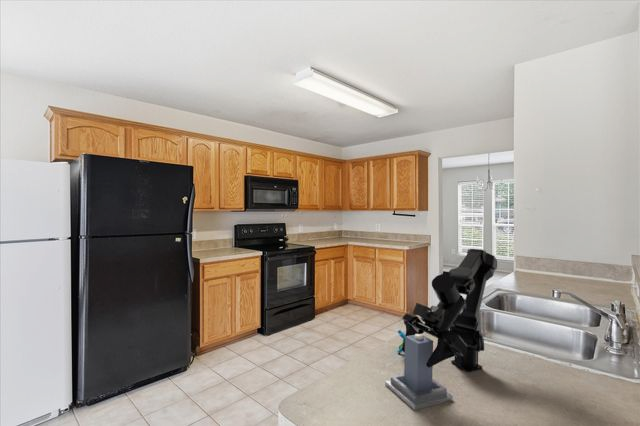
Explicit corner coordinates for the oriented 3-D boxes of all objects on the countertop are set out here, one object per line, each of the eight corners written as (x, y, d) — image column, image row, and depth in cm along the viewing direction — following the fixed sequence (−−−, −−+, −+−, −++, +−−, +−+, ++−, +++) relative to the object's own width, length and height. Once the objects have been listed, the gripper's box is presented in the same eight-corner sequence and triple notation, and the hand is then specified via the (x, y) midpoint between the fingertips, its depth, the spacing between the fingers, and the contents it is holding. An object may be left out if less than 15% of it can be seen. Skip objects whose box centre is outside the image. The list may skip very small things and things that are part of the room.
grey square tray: (420, 376, 91) (420, 368, 91) (452, 400, 80) (452, 390, 80) (385, 384, 86) (385, 375, 86) (414, 410, 75) (414, 399, 75)
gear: (424, 357, 100) (401, 331, 102) (410, 369, 100) (388, 344, 102) (419, 347, 111) (399, 325, 113) (407, 359, 111) (387, 336, 113)
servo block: (418, 381, 86) (419, 331, 86) (431, 391, 82) (433, 337, 82) (403, 385, 84) (405, 333, 84) (416, 395, 80) (418, 340, 80)
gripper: (408, 285, 93) (375, 327, 88) (460, 301, 76) (423, 355, 71) (427, 308, 96) (397, 350, 92) (481, 330, 79) (448, 383, 75)
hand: (414, 358), depth 82 cm, fingers open, 9 cm apart
